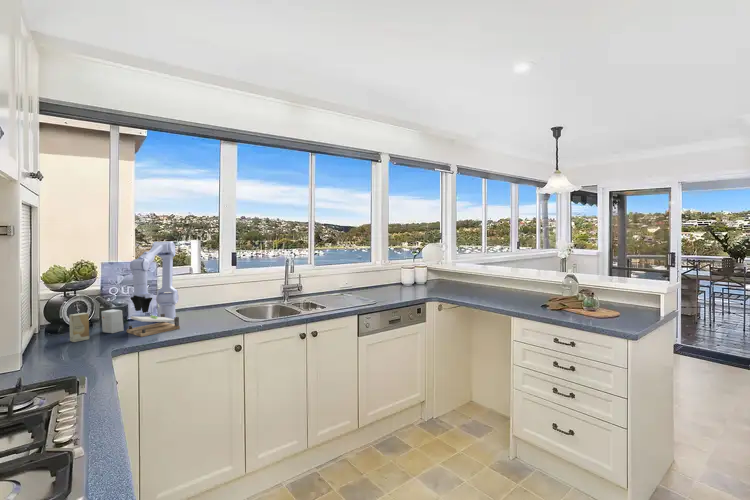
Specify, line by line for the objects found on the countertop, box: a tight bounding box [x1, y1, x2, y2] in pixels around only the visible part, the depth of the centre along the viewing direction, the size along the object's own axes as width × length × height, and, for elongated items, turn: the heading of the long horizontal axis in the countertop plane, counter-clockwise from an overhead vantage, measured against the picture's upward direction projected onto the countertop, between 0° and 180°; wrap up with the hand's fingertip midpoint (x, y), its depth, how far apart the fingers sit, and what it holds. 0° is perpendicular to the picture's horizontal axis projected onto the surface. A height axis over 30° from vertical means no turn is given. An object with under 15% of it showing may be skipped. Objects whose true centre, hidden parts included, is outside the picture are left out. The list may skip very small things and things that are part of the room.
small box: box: [100, 308, 124, 334], centre depth 189 cm, size 8×6×10 cm
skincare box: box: [68, 312, 90, 343], centre depth 174 cm, size 6×4×12 cm
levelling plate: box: [129, 314, 175, 323], centre depth 189 cm, size 12×17×2 cm
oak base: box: [126, 314, 181, 338], centre depth 189 cm, size 16×18×6 cm
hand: (141, 311), depth 185 cm, fingers open, 7 cm apart
